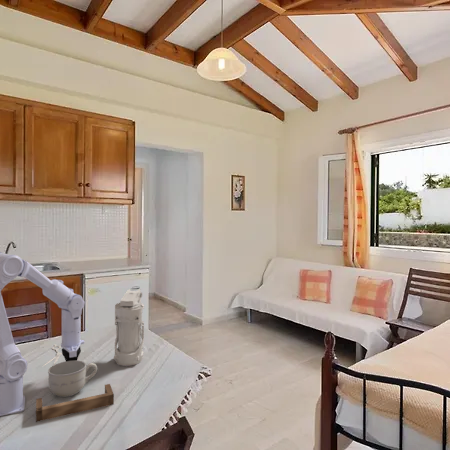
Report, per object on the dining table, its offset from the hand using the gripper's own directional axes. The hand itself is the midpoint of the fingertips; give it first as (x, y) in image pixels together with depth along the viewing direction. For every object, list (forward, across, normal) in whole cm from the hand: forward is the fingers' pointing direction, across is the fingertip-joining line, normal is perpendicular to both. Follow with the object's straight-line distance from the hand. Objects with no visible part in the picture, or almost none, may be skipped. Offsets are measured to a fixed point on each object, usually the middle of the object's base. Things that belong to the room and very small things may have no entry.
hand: (71, 370), depth 116 cm
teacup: (+4, -8, 0) cm, 8 cm away
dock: (+3, -17, 0) cm, 17 cm away
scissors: (+4, +22, +3) cm, 23 cm away
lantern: (+4, +8, -21) cm, 23 cm away
